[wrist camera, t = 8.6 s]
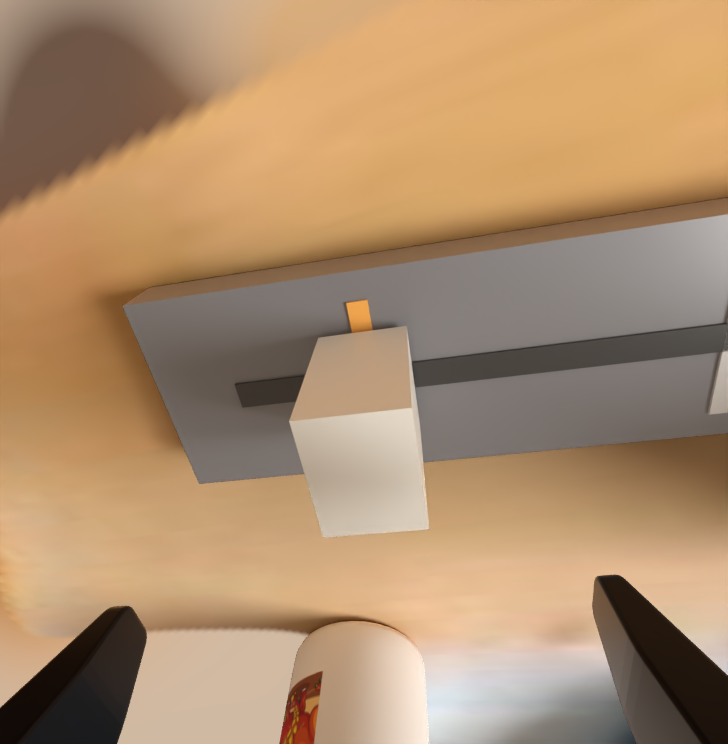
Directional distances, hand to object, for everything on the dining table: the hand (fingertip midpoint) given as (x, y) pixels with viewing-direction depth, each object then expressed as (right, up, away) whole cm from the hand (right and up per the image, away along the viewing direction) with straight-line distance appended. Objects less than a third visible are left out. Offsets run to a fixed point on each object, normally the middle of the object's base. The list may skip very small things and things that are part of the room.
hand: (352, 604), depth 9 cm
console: (+5, +6, +9) cm, 12 cm away
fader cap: (0, +4, +8) cm, 9 cm away
